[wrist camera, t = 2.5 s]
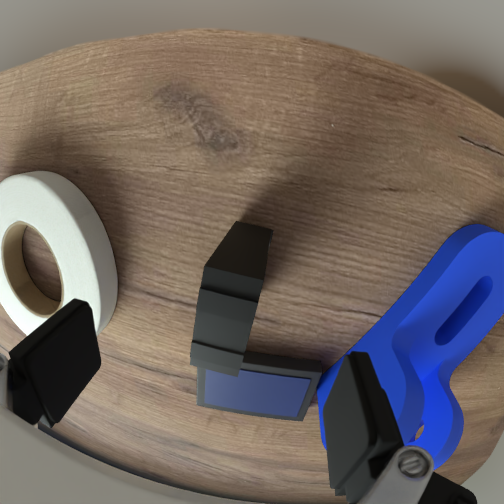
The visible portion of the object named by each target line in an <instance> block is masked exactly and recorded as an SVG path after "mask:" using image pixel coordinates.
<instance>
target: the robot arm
mask: <svg viewBox="0 0 504 504" xmlns="http://www.w3.org/2000/svg"><path fill="white" fill-rule="evenodd" d="M9 355H10V358H11V359H10V360H8V359H7V358H6V356H5V355H3V354H1V353H0V504H265V503H255V502H246V501H238V500H231V499H225V498H219V497H214V496H209V495H204V494H199V493H195V492H190V491H186V490H182V489H178V488H174V487H171V486H167V485H164V484H160V483H157V482H154V481H151V480H147V479H144V478H141V477H139V476H136V475H133V474H130V473H127V472H125V471H122V470H119V469H117V468H114V467H112V466H110V465H107V464H105V463H102V462H100V461H98V460H96V459H93V458H91V457H89V456H87V455H85V454H83V453H81V452H79V451H77V450H75V449H73V448H71V447H69V446H67V445H65V444H63V443H61V442H59V441H58V440H56V439H54V438H52V437H51V436H49V435H47V434H45V433H44V432H42V431H40V430H39V429H38V426H37V422H38V421H39V420H40V421H41V422H42V423H43V424H45V425H47V426H48V427H50V428H52V427H53V426H54V424H55V423H58V422H60V421H61V419H62V418H63V416H64V415H65V414H66V412H67V411H68V410H69V408H70V407H71V405H72V404H73V403H74V401H75V400H76V399H77V397H78V396H79V395H80V393H81V392H82V391H83V389H84V388H85V387H86V385H87V384H88V383H89V381H90V380H91V379H92V377H93V376H94V375H95V374H96V372H97V371H98V370H99V368H100V366H101V357H100V352H99V347H98V341H97V336H96V330H95V324H94V317H93V311H92V308H91V307H90V305H89V303H88V302H87V301H83V300H80V299H77V298H74V299H72V300H71V301H70V302H68V303H67V304H66V305H65V306H63V307H62V308H61V309H60V310H58V311H57V312H56V313H55V314H53V315H52V316H51V317H50V318H48V319H47V320H46V321H45V322H44V323H42V324H41V325H40V326H39V327H38V328H36V329H35V330H34V331H33V332H32V333H30V334H29V335H28V336H27V337H26V338H25V339H23V340H22V341H21V342H20V343H19V344H18V345H17V346H15V347H14V348H13V349H12V350H11V351H10V352H9ZM323 421H324V430H325V439H326V448H327V458H328V469H329V480H330V487H331V488H332V489H335V496H343V495H346V499H347V501H348V504H477V500H476V497H475V495H474V494H473V493H472V492H471V491H469V490H468V489H465V488H464V487H462V486H460V485H458V484H456V483H454V482H452V481H450V480H448V479H446V478H445V477H443V476H441V475H439V474H437V473H435V472H433V469H434V461H433V458H432V456H431V455H430V454H429V452H428V451H427V450H425V449H423V448H422V447H419V446H416V445H408V446H404V442H403V439H402V436H401V433H400V430H399V427H398V424H397V421H396V419H395V416H394V413H393V410H392V407H391V405H390V402H389V399H388V396H387V394H386V392H385V390H384V389H383V388H381V385H380V382H379V380H378V377H377V374H376V372H375V369H374V366H373V364H372V361H371V359H370V356H369V354H368V353H367V352H359V351H351V353H350V354H349V355H345V356H344V359H343V361H342V364H341V366H340V369H339V371H338V374H337V376H336V379H335V381H334V383H333V386H332V388H331V390H330V393H329V395H328V397H327V400H326V402H325V404H324V407H323Z"/></svg>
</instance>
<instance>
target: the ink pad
mask: <svg viewBox="0 0 504 504" xmlns="http://www.w3.org/2000/svg"><path fill="white" fill-rule="evenodd" d="M321 375H322V367H321V361H316V360H307V359H299V358H291V357H283V356H276V355H269V354H262V353H256V352H250V351H245V353H244V357H243V361H242V364H241V368H240V371H239V374H238V377H235V376H231V375H227V374H223V373H219V372H215V371H211V370H207V369H204V368H200V367H197V405H198V406H203V407H207V408H212V409H217V410H222V411H228V412H233V413H239V414H245V415H252V416H258V417H266V418H274V419H283V420H293V421H303V419H304V417H305V415H306V412H307V410H308V407H309V405H310V403H311V400H312V398H313V395H314V393H315V390H316V388H317V385H318V383H319V380H320V378H321Z"/></svg>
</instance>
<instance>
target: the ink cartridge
mask: <svg viewBox="0 0 504 504" xmlns="http://www.w3.org/2000/svg"><path fill="white" fill-rule="evenodd" d="M272 235H273V230H272V229H268V228H264V227H260V226H255V225H251V224H247V223H243V222H238V221H236V222H235V223H234V225H233V226H232V227H231V229H230V230H229V232H228V233H227V234H226V236H225V237H224V239H223V240H222V242H221V243H220V244H219V246H218V247H217V249H216V250H215V251H214V253H213V254H212V256H211V257H210V259H209V260H208V261H207V263H206V264H205V266H204V271H203V276H202V282H201V287H200V290H199V296H198V302H197V308H196V310H197V311H196V318H195V325H194V332H193V339H192V344H191V352H190V357H191V360H190V365H193V366H197V367H200V368H204V369H207V370H211V371H215V372H219V373H223V374H227V375H231V376H235V377H238V374H239V371H240V368H241V364H242V361H243V357H244V353H245V350H246V346H247V342H248V339H249V335H250V331H251V327H252V324H253V320H254V317H255V313H256V309H257V305H258V301H259V297H260V293H261V289H262V285H263V282H264V276H265V269H266V263H267V257H268V251H269V247H270V243H271V239H272Z"/></svg>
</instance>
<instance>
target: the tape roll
mask: <svg viewBox="0 0 504 504" xmlns="http://www.w3.org/2000/svg"><path fill="white" fill-rule="evenodd" d="M26 226H29V227H31V228H32V229H34V230H35V231H36V232H37V233H38V234H39V235H40V236H41V237H42V238H43V240H44V241H45V243H46V244H47V245H48V247H49V249H50V251H51V253H52V255H53V257H54V259H55V262H56V264H57V267H58V270H59V274H60V279H61V286H62V297H61V302H58V301H54V300H52V299H50V298H48V297H46V296H45V295H44V294H43V293H42V292H40V290H39V289H38V288H37V287H36V286H35V284H34V283H33V281H32V280H31V278H30V276H29V274H28V272H27V270H26V267H25V264H24V260H23V255H22V238H23V233H24V230H25V228H26ZM117 291H118V279H117V271H116V265H115V259H114V255H113V251H112V247H111V244H110V241H109V238H108V235H107V233H106V231H105V228H104V226H103V223H102V222H101V220H100V218H99V216H98V214H97V212H96V211H95V209H94V207H93V206H92V204H91V203H90V201H89V200H88V199H87V198H86V196H85V195H84V194H83V193H82V192H81V191H80V190H79V189H78V188H77V187H76V186H75V185H74V184H73V183H72V182H70V181H69V180H68V179H66V178H64V177H62V176H61V175H59V174H56V173H53V172H49V171H33V172H27V173H22V174H17V175H12V176H10V177H8V178H6V179H4V180H3V181H2V182H1V183H0V302H1V304H2V305H3V307H4V309H5V310H6V312H7V313H8V314H9V316H10V317H11V319H12V320H13V321H14V322H15V323H16V325H17V326H18V327H19V328H20V329H21V330H22V331H23V332H24V333H25V334H26V335H27V336H28V335H29V334H30V333H32V332H33V331H34V330H35V329H36V328H38V327H39V326H40V325H41V324H42V323H44V322H45V321H46V320H47V319H48V318H50V317H51V316H52V315H53V314H55V313H56V312H57V311H58V310H60V309H61V308H62V307H63V306H65V305H66V304H67V303H68V302H70V301H71V300H72V299H74V298H77V299H80V300H83V301H87V302H88V303H89V305H90V307H91V308H92V311H93V317H94V324H95V330H96V336H98V335H99V333H100V332H101V331H102V330H103V329H104V328H105V327H106V326H107V324H108V323H109V321H110V319H111V317H112V315H113V312H114V309H115V305H116V301H117Z"/></svg>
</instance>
